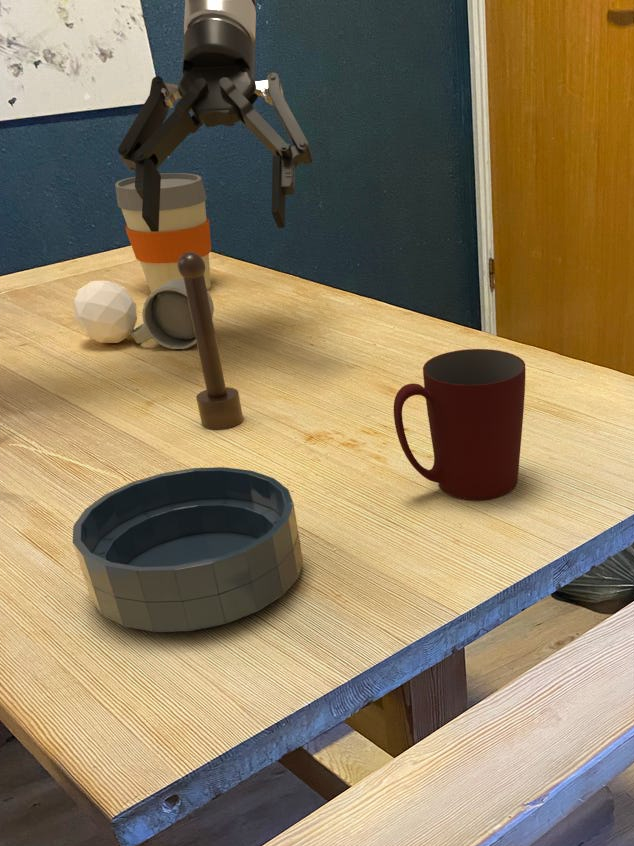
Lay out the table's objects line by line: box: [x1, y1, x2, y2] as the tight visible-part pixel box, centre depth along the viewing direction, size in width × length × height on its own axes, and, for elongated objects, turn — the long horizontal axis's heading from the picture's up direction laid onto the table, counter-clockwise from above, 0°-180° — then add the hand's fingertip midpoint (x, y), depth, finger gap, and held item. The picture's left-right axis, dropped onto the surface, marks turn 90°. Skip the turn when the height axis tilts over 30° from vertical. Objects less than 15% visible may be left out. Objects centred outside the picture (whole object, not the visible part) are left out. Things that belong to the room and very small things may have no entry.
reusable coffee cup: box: [114, 172, 212, 294], centre depth 138 cm, size 12×13×15 cm
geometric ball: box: [73, 280, 138, 344], centre depth 121 cm, size 8×8×8 cm
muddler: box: [178, 252, 244, 430], centre depth 95 cm, size 4×4×17 cm
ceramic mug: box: [130, 278, 215, 350], centre depth 121 cm, size 11×8×8 cm
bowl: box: [72, 466, 304, 633], centre depth 73 cm, size 16×16×6 cm
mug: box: [393, 348, 526, 501], centre depth 83 cm, size 12×9×11 cm
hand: (214, 222), depth 98 cm, fingers open, 13 cm apart
